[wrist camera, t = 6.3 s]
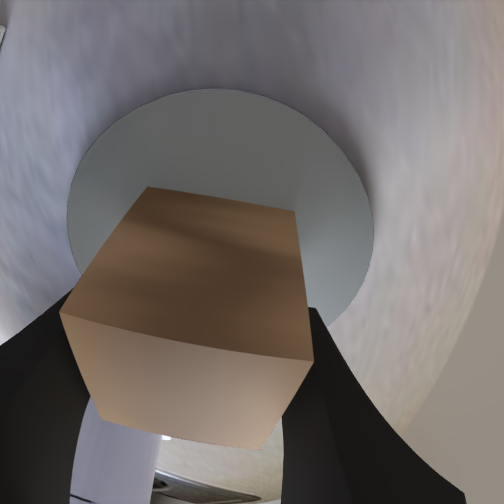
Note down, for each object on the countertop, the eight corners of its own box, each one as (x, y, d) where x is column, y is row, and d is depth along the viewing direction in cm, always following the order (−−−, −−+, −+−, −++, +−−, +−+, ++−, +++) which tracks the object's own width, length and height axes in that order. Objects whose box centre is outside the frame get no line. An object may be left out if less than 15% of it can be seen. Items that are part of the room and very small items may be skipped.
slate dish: (95, 320, 16) (89, 333, 15) (73, 81, 9) (59, 84, 8) (316, 355, 16) (317, 370, 16) (407, 131, 10) (419, 138, 9)
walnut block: (147, 294, 13) (101, 419, 8) (147, 185, 10) (58, 312, 5) (263, 315, 13) (259, 449, 9) (294, 211, 11) (314, 361, 6)
